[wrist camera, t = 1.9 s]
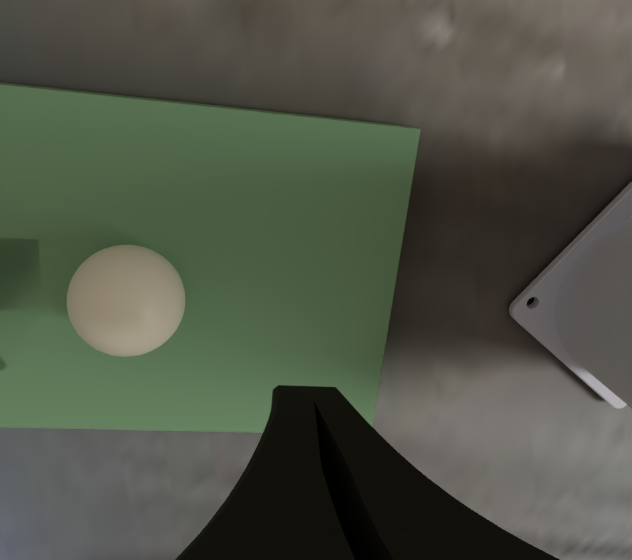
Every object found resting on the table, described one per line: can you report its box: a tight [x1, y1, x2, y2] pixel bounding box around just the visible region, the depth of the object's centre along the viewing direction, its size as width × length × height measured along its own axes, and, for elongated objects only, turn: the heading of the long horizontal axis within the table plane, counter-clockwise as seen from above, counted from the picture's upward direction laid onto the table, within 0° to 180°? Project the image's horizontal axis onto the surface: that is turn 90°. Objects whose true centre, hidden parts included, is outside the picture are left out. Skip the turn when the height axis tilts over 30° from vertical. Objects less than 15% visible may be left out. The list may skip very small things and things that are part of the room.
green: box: [0, 82, 421, 433], centre depth 19 cm, size 24×12×2 cm, turn 84°
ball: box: [67, 245, 185, 357], centre depth 17 cm, size 4×4×4 cm
